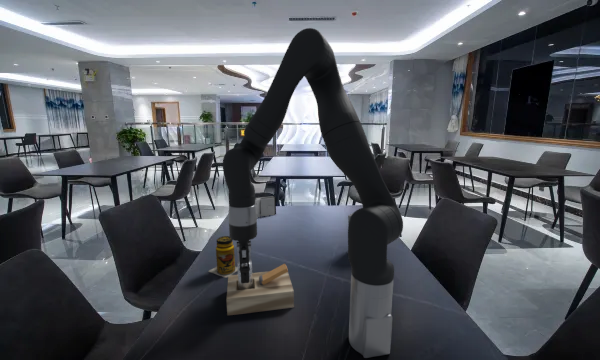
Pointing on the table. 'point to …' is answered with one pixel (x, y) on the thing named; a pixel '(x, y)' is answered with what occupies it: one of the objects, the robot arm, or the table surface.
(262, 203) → the hinge
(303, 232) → the table surface
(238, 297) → the birch block
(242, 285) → the steel peg
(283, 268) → the latch arm
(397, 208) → the robot arm
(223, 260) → the condiment
